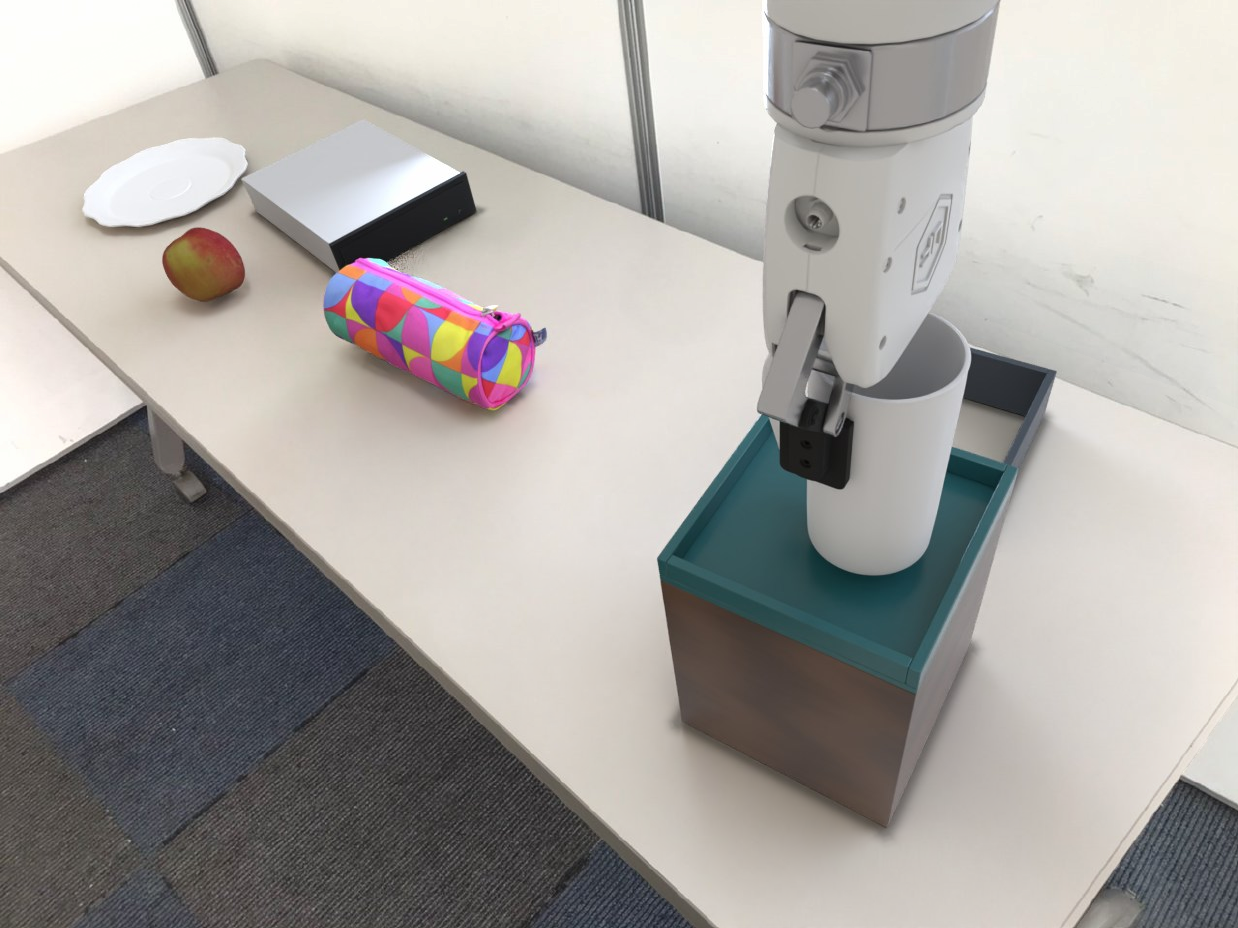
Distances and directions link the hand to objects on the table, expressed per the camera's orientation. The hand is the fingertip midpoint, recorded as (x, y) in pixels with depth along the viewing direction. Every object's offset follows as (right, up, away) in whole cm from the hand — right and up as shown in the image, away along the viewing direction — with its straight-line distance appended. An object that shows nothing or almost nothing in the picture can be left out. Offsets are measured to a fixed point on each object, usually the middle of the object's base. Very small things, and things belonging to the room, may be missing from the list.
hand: (848, 420), depth 45 cm
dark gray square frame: (+14, -1, +31) cm, 34 cm away
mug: (+1, -5, +5) cm, 7 cm away
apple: (-55, +16, +59) cm, 82 cm away
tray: (+1, -6, +6) cm, 9 cm away
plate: (-69, +33, +77) cm, 108 cm away
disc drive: (-41, +28, +67) cm, 83 cm away
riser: (+3, -17, +18) cm, 25 cm away
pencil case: (-28, +7, +46) cm, 54 cm away
